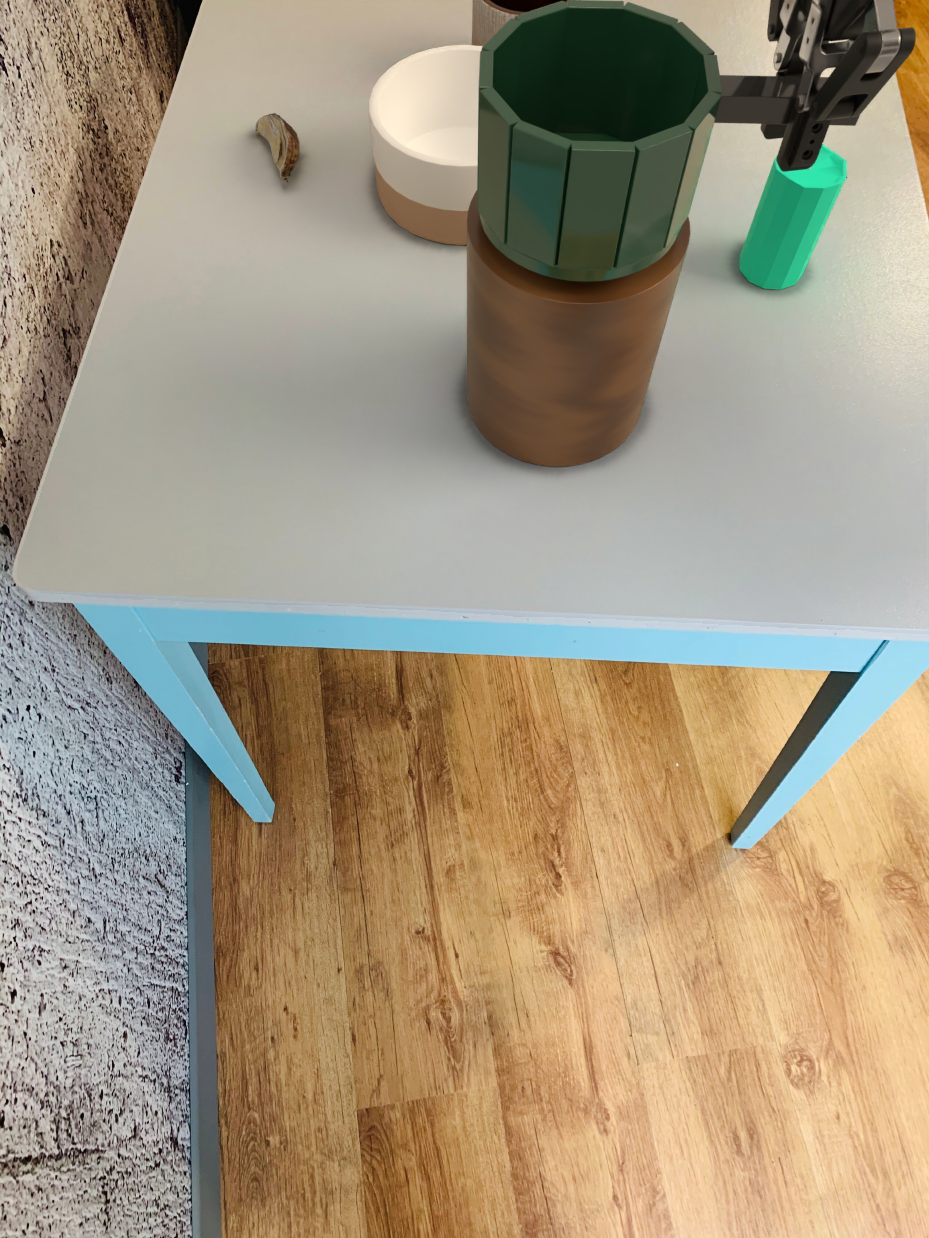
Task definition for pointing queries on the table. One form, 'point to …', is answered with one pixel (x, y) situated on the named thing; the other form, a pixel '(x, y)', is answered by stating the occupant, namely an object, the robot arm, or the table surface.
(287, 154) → the oyster shell
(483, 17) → the planter
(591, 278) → the pot
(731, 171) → the table surface
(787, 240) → the candle
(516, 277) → the stand
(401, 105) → the bowl
